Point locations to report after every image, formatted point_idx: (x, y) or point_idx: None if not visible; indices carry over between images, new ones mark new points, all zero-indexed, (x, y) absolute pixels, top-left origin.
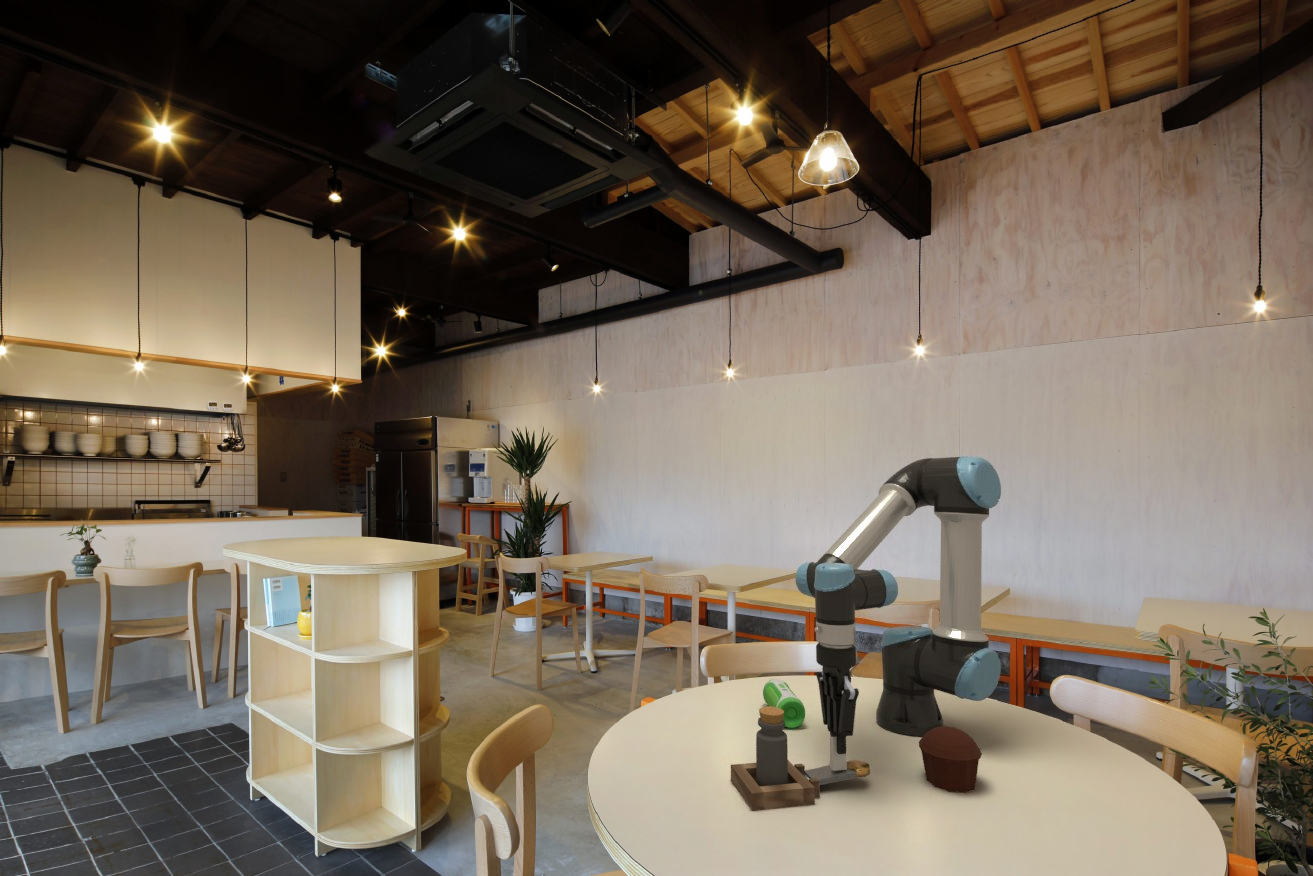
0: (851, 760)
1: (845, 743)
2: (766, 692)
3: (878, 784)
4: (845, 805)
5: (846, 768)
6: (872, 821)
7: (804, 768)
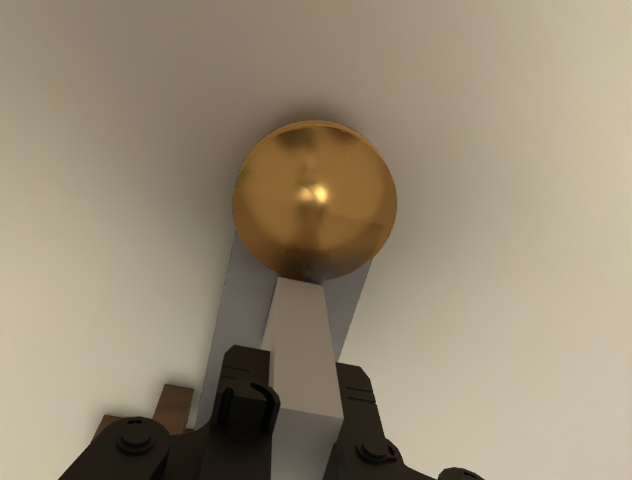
0: (238, 181)
1: (378, 421)
2: None
3: (365, 76)
4: (442, 364)
5: (322, 290)
6: (588, 353)
7: (181, 432)
